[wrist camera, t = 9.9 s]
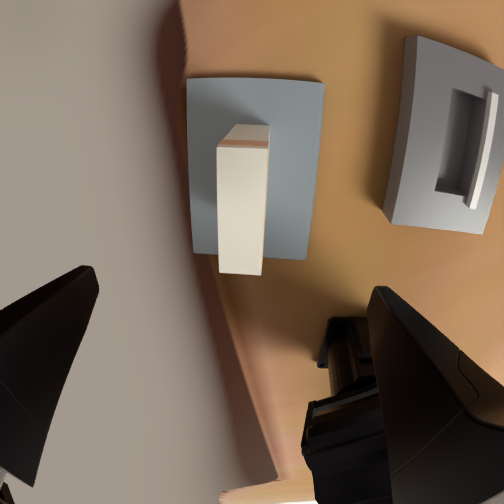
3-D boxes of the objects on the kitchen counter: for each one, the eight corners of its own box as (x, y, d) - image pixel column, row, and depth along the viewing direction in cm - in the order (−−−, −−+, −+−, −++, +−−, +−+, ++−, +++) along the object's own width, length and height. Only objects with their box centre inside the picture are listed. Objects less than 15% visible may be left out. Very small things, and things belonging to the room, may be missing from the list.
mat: (305, 255, 22) (305, 260, 22) (195, 248, 23) (193, 253, 22) (323, 83, 16) (324, 83, 16) (189, 78, 16) (186, 78, 16)
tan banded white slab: (265, 217, 20) (261, 275, 15) (234, 215, 20) (218, 272, 15) (270, 125, 17) (268, 148, 12) (235, 123, 17) (216, 146, 12)
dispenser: (469, 221, 20) (485, 237, 18) (382, 210, 20) (393, 227, 18) (498, 73, 13) (519, 76, 11) (404, 38, 14) (421, 34, 12)
